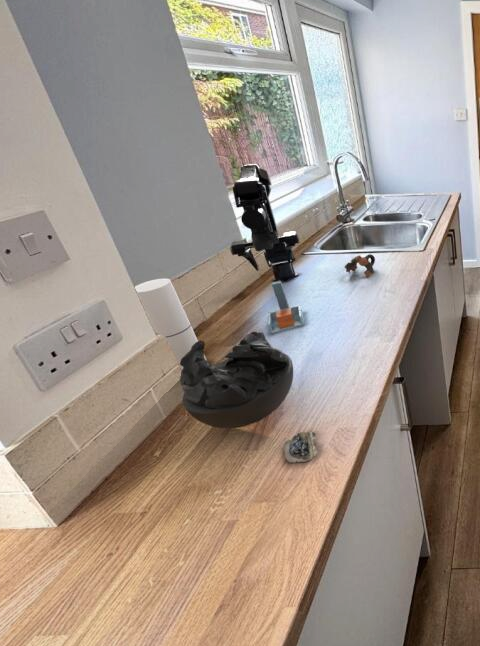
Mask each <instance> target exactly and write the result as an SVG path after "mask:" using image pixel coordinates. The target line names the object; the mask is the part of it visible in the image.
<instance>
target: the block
mask: <svg viewBox="0 0 480 646" xmlns="http://www.w3.org/2000/svg"><path fill="white" fill-rule="evenodd" d="M289 308H290V307H289ZM276 311H277V310H276ZM276 319H277V322H278V325H279V328H280V329H282V328H286V327H289V326H293V325H295V323H294V317H293V314H292V311H291V308H290V309H286V310H282V311H277V312H276Z"/></svg>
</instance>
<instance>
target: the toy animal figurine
mask: <svg viewBox="0 0 480 646" xmlns="http://www.w3.org/2000/svg"><path fill="white" fill-rule="evenodd" d="M369 259H370V260H369ZM375 263H376V257H375V256H374V255H373V254H371V253H370V254H366V255H365V256H361V255H360V254H358V255H356V256H355V257H354V258H352V259H351V260H350V262H347V263H346V264H345V265H344V268H345V272H346V273H349V274H350V273H351V272H354V273H355V271H356V270H357V269H358V265H360V267H364V268H366V270H365V271H364V272H363V274H364V275H365V277H366V278H369V277H370V276H371V275H372V274H373V273H374V272H375V270H374V265H375Z"/></svg>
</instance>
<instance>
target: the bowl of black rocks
mask: <svg viewBox="0 0 480 646" xmlns="http://www.w3.org/2000/svg"><path fill="white" fill-rule="evenodd" d="M205 346H206V343H205V340H198V342H196V343H195V344H194V345H193V346H192V347H191V350H190V351H189V352H188V353H186V355H185V356H184V357H182V359H181V361H180V365H181V366H183V369H182V371H181V376H180V379H179V381H180V386H181V388H182V390H183V395H182V406H183V407H184V409H185V410H186V411H187V412H188V414H189V415H190V416H191V417H192V418H194V419H195V420H196V421H198V422H200V423H202V424H204V425H206V426H209V427H213V428H218V429H240V428H244V427H249V426H251V425H253V424H256V423H258V422H260V421H262V420H264V419H266V418H267V417H269V416H270V415H272V414H273V413H274V412H275V411H276V410H277V409H278V408H279V407H280V406H281V405H282V404H283V402H284V401H285V399H286V398H287V396H288V394H289V392H290V390H291V388H292V384H293V381H294V365H293V360H292V358H291V357H290V356H289V355H288V354H287V353H285V352H283V351H282V350H280V349H277V348H276V347H275V348H274V347H273V346H271V344H270V343H269V342H268V339H266V336H265V333H264V332H263V331H251V332H250V333H248V334H247V335H245V336H244V337H243V338H242V339H241V340H240V341H239V344H236V345H234V346H233V347H232V348H231V349H232V350H231V351H230V352H228V353H227V354H226V355H224V358H225V360H223V361H221V362H219V363H217V364H214V365H211V364H209V363H208V360H207V358H206V359H205V357H206V356H205V357H204V355H205V353H204V349H205ZM208 364H209V365H208Z"/></svg>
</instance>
